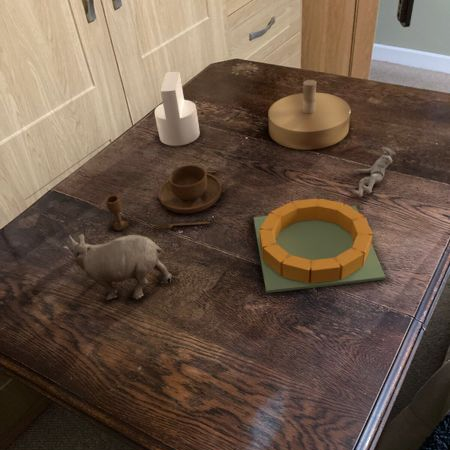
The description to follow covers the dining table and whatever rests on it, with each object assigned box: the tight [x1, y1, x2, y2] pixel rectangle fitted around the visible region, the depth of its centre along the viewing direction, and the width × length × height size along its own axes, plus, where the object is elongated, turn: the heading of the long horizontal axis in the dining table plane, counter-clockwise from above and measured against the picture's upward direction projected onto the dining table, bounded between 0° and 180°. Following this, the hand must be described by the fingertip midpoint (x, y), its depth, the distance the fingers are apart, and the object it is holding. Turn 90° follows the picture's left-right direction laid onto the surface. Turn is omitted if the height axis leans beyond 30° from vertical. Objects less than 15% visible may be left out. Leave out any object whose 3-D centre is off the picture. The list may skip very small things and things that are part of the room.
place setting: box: [104, 164, 222, 232], centre depth 91 cm, size 18×20×6 cm
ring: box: [259, 198, 373, 284], centre depth 79 cm, size 17×17×3 cm
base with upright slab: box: [154, 71, 201, 147], centre depth 105 cm, size 9×9×12 cm
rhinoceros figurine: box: [62, 233, 173, 301], centre depth 76 cm, size 8×14×15 cm
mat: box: [253, 204, 386, 294], centre depth 80 cm, size 18×18×1 cm
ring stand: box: [267, 79, 351, 151], centre depth 103 cm, size 17×17×10 cm
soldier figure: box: [351, 146, 397, 198], centre depth 90 cm, size 8×5×12 cm
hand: (435, 21), depth 68 cm, fingers open, 8 cm apart
